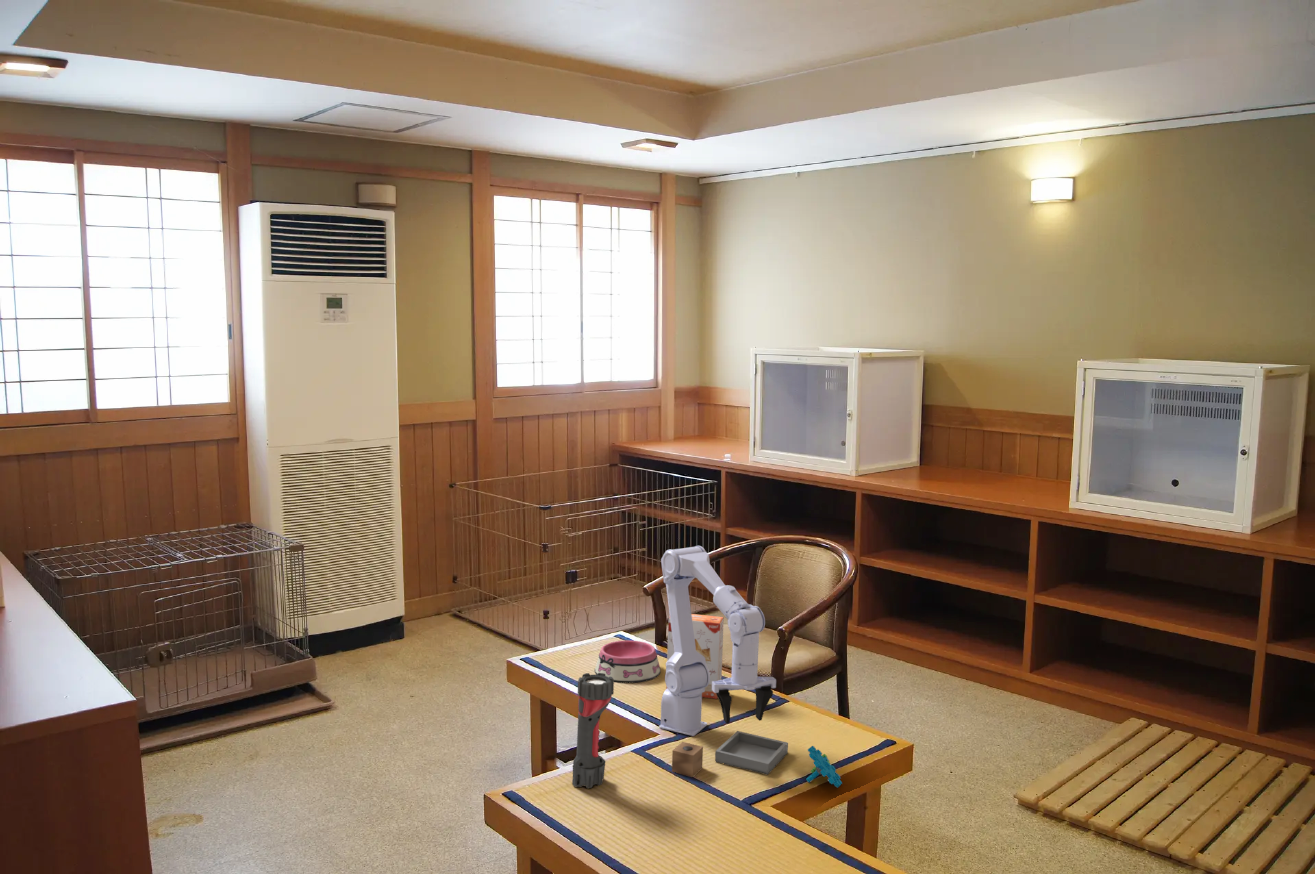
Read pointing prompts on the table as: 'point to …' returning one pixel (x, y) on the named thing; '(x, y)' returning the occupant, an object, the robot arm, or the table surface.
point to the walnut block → (687, 759)
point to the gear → (822, 767)
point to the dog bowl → (628, 661)
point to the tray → (751, 752)
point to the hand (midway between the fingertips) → (742, 720)
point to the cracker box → (705, 646)
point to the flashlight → (590, 728)
